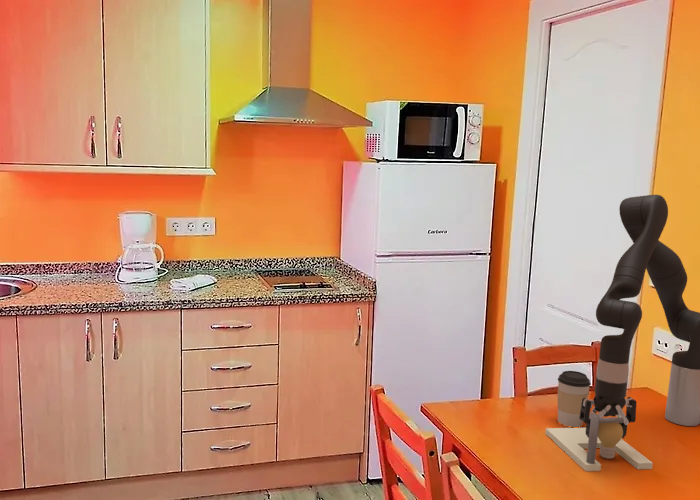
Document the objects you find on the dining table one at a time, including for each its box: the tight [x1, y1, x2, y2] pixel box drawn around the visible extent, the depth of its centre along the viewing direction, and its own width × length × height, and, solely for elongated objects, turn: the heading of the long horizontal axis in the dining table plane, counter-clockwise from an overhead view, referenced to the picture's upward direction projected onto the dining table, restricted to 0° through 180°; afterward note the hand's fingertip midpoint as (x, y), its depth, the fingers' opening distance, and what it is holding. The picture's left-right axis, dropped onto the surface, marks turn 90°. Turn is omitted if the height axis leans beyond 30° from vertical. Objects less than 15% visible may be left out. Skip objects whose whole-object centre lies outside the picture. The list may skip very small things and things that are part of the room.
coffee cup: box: [557, 370, 592, 428], centre depth 195 cm, size 9×9×15 cm
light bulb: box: [598, 423, 623, 460], centre depth 174 cm, size 6×6×10 cm
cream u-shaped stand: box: [544, 413, 654, 472], centre depth 178 cm, size 18×22×14 cm
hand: (605, 437), depth 175 cm, fingers open, 8 cm apart
